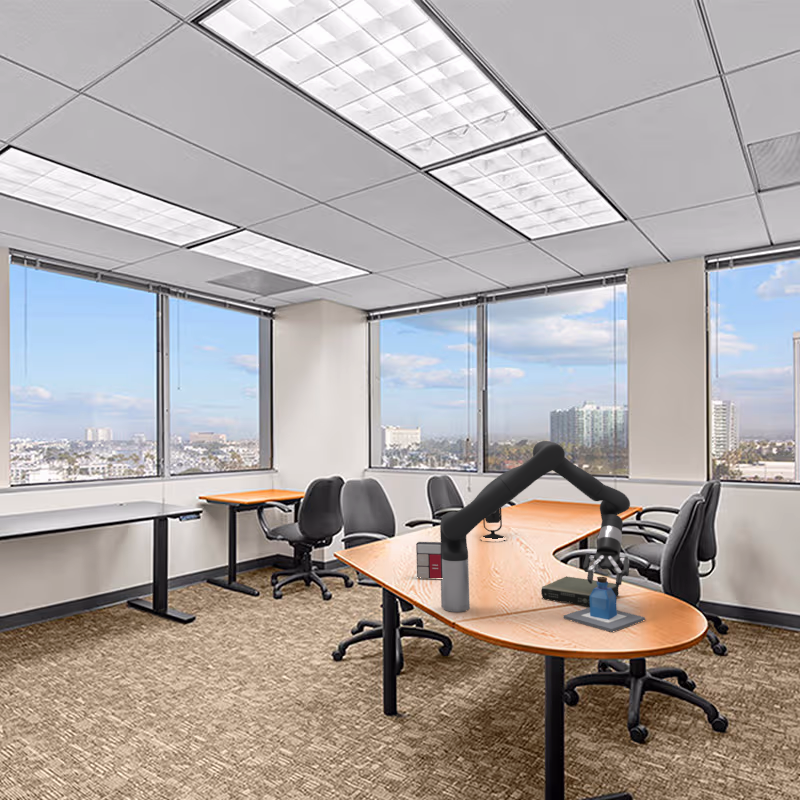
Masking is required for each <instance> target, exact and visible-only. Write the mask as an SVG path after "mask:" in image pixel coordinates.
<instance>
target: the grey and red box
mask: <svg viewBox="0 0 800 800" xmlns="http://www.w3.org/2000/svg"><path fill="white" fill-rule="evenodd" d="M415 545H416V550H415V551H416V552H415V553H416V578H417V577H418V578H420V577H421V578H443V577H442V551H441V541H440V542H439V541H418V542H417V543H416V544H415Z"/></svg>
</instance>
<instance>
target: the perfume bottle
mask: <svg viewBox="0 0 800 800" xmlns="http://www.w3.org/2000/svg"><path fill="white" fill-rule="evenodd" d="M596 579H597V580H596V581H597V585H598V587H596V588H594V589H593V591H592V593H591V595H590V616H593V617H598V618H603V619H608V620H609V619H611V618H613V617H614V616H616V615H617V610H618V608H617V597H616V595H615V593H614V592H613V590H612V589H611V588H608V587H607V585H608V583H609V581H608V577H606V576H597V577H596Z"/></svg>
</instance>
